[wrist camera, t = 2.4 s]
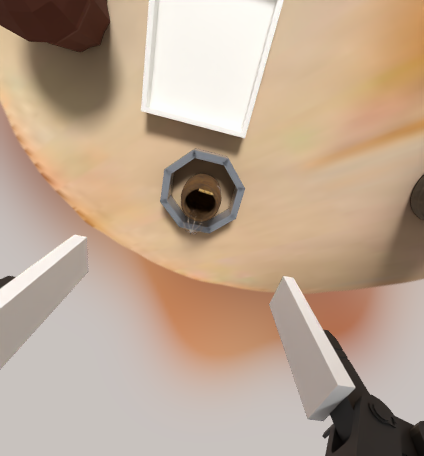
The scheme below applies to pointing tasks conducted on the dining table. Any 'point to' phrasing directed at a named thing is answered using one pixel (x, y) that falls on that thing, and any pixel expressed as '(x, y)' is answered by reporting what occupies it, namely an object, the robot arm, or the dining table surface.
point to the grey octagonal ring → (175, 209)
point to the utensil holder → (200, 198)
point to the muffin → (57, 21)
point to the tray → (207, 60)
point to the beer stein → (418, 199)
